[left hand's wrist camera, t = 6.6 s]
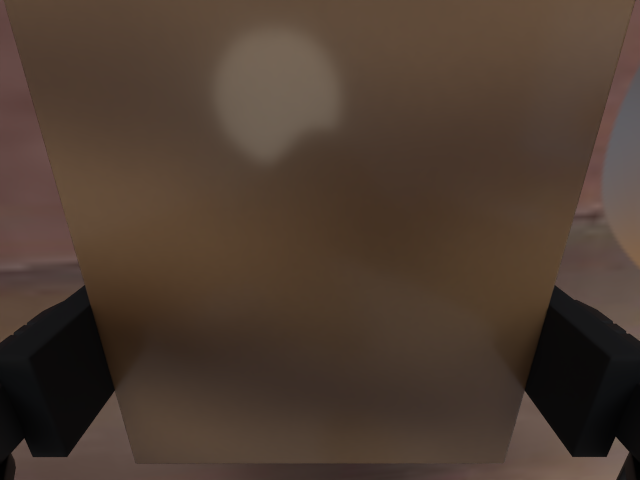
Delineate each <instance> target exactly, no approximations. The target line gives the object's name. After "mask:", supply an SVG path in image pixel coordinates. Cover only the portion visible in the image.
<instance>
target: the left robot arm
mask: <svg viewBox="0 0 640 480" xmlns="http://www.w3.org/2000/svg"><path fill="white" fill-rule="evenodd" d="M114 391H115V389H114V386H113V382H112V379H111V375H110V372H109V368H108V364H107V361H106V357H105V354H104V350H103V347H102V343H101V340H100V336H99V333H98V329H97V326H96V322H95V319H94V315H93V312H92V308H91V305H90V301H89V298H88V294H87V291H86V287H85V285H84V286H83V287H82V288H80V289H79V290H78V291H77V292H75V293H74V294H73V295H71V296H70V297H69V298H67V299H66V300H65V301H63V302H61V303H59V304H57V305H55V306H52V307H50V308H48V309H46V310H44V311H42V312H41V313H40V314H38V315H37V316H36V317H34V318H33V319H32V320H30V321H29V322H28V323H27V325H24V326H22V327H21V328H20V329H18V330H17V331H15V332H14V335H10V336H9V337H7V338H6V339H5V340H3V341H2V342H1V343H0V480H14V475H15V469H16V466H15V461H14V458H13V456H12V454H11V452H12V451H13V450H14V449H15V448H16V447H17V446H18V445H19V443H20V442H21V441H22V440H23V439H24V438H25V440H26V443H27V445H28V447H29V449H30V452H31V454H32V456H33V457H67V456H68V455H69V454H70V452H71V451H72V449H73V448H74V447H75V445H76V444H77V442H78V441H79V440H80V438H81V437H82V435H83V434H84V433H85V431H86V430H87V428H88V427H89V426H90V424H91V423H92V422H93V420H94V419H95V417H96V416H97V415H98V413H99V412H100V410H101V409H102V408H103V406H104V405H105V403H106V402H107V401H108V399H109V398H110V396H111V395H112V394H113V392H114ZM525 391H526V393H527V394H528V396H529V397H530V398H531V400H532V401H533V403H534V404H535V405H536V407H537V408H538V410H539V411H540V412H541V414H542V415H543V416H544V418H545V419H546V421H547V422H548V423H549V425H550V426H551V428H552V429H553V430H554V432H555V433H556V435H557V436H558V437H559V439H560V440H561V442H562V443H563V444H564V446H565V447H566V448H567V450H568V451H569V453H570V454H571V455H572V457H607V455H608V453H609V450H610V448H611V446H612V443H613V441H614V439H615V437H617V438H618V440H619V441H620V442H621V443H622V444H623V445H624V446H625V447H626V449H627V450H628V451H629V454H628V456H627V458H626V460H625V462H624V465H623V467H622V469H621V471H620V473H619V475H618V477H617V479H616V480H640V341H639V340H637V339H636V338H635V337H633V336H632V335H631V334H627V333H626V331H625V330H624V329H622V328H621V327H620V326H618V325H617V324H613V321H612V320H610V319H609V318H607V317H606V316H605V315H603V314H602V313H601V312H599V311H598V310H596V309H594V308H592V307H590V306H588V305H586V304H584V303H582V302H580V301H578V300H573V299H572V298H571V297H570V296H568V295H567V294H566V293H564V292H563V291H562V290H560V289H559V288H558V287H556V286H555V285H554V289H553V292H552V296H551V299H550V303H549V306H548V310H547V313H546V317H545V320H544V324H543V327H542V331H541V334H540V338H539V341H538V345H537V348H536V352H535V356H534V359H533V363H532V366H531V370H530V373H529V377H528V380H527V384H526V387H525Z"/></svg>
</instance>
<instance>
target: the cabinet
mask: <svg viewBox="0 0 640 480" xmlns="http://www.w3.org/2000/svg"><path fill="white" fill-rule="evenodd" d="M4 3H5V6H6V10H7V13H8V17H9V20H10V24H11V27H12V31H13V34H14V38H15V41H16V45H17V48H18V52H19V55H20V59H21V62H22V66H23V69H24V73H25V76H26V80H27V83H28V87H29V91H30V94H31V98H32V101H33V105H34V108H35V112H36V115H37V119H38V122H39V126H40V129H41V133H42V136H43V140H44V143H45V147H46V150H47V154H48V157H49V161H50V164H51V168H52V171H53V175H54V178H55V182H56V185H57V189H58V192H59V196H60V199H61V203H62V206H63V210H64V213H65V217H66V220H67V224H68V227H69V231H70V235H71V238H72V242H73V245H74V249H75V252H76V256H77V259H78V263H79V266H80V270H81V273H82V277H83V280H84V284H85V287H86V291H87V294H88V298H89V301H90V305H91V308H92V312H93V315H94V319H95V322H96V326H97V329H98V333H99V336H100V340H101V343H102V347H103V350H104V354H105V357H106V361H107V364H108V368H109V372H110V375H111V379H112V382H113V386H114V389H115V393H116V396H117V400H118V403H119V407H120V410H121V414H122V417H123V421H124V424H125V428H126V431H127V435H128V438H129V442H130V445H131V449H132V452H133V456H134V459H135V463H137V464H437V463H504V461H505V458H506V454H507V451H508V447H509V444H510V440H511V437H512V433H513V429H514V426H515V422H516V419H517V415H518V412H519V408H520V405H521V401H522V398H523V394H524V391H525V387H526V384H527V380H528V377H529V373H530V370H531V366H532V363H533V359H534V356H535V352H536V348H537V345H538V341H539V338H540V334H541V331H542V327H543V324H544V320H545V317H546V313H547V310H548V306H549V303H550V299H551V296H552V292H553V289H554V285H555V282H556V278H557V275H558V271H559V267H560V264H561V260H562V257H563V253H564V250H565V246H566V243H567V239H568V236H569V232H570V229H571V225H572V222H573V218H574V215H575V211H576V208H577V204H578V201H579V197H580V194H581V190H582V186H583V183H584V179H585V176H586V172H587V169H588V165H589V162H590V158H591V155H592V151H593V148H594V144H595V141H596V137H597V134H598V130H599V127H600V123H601V120H602V116H603V113H604V109H605V105H606V102H607V98H608V95H609V91H610V88H611V84H612V81H613V77H614V74H615V70H616V67H617V63H618V60H619V56H620V53H621V49H622V46H623V42H624V39H625V35H626V32H627V28H628V24H629V21H630V17H631V14H632V10H633V7H634V3H635V0H4Z"/></svg>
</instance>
